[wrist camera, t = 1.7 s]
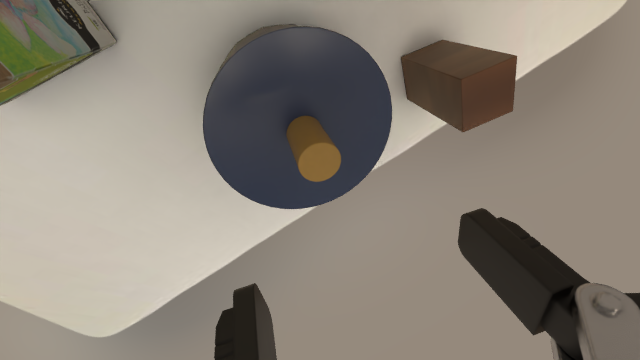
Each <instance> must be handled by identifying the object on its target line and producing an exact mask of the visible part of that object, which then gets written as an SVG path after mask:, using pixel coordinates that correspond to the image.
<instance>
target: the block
mask: <svg viewBox="0 0 640 360" xmlns="http://www.w3.org/2000/svg"><path fill="white" fill-rule="evenodd" d="M401 60H402V67H403V73H404V80H405V87H406V93H407V99H408V100H410V101H411V102H413V103H415V104H416V105H418V106H420V107H421V108H423V109H425V110H426V111H428V112H430V113H431V114H433V115H435V116H436V117H438V118H440V119H441V120H443V121H445V122H446V123H448V124H450V125H452V126H453V127H455V128H457V129H458V130H460V131H462V132H465V131H467V130H470V129H472V128H474V127H477V126H479V125H481V124H484V123H486V122H488V121H491V120H493V119H495V118H498V117H500V116H502V115H504V114H507V113H509V112H512V111H513V102H514V90H515V77H516V64H517V56H516V55H511V54H506V53H502V52H497V51H492V50H488V49H483V48H478V47H474V46H469V45H464V44H460V43H455V42H451V41H446V40H441V41H438V42H436V43H434V44H431V45H429V46H427V47H424V48H422V49H419V50H417V51H415V52H412V53H410V54H408V55H405V56H403V57H401Z"/></svg>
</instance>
